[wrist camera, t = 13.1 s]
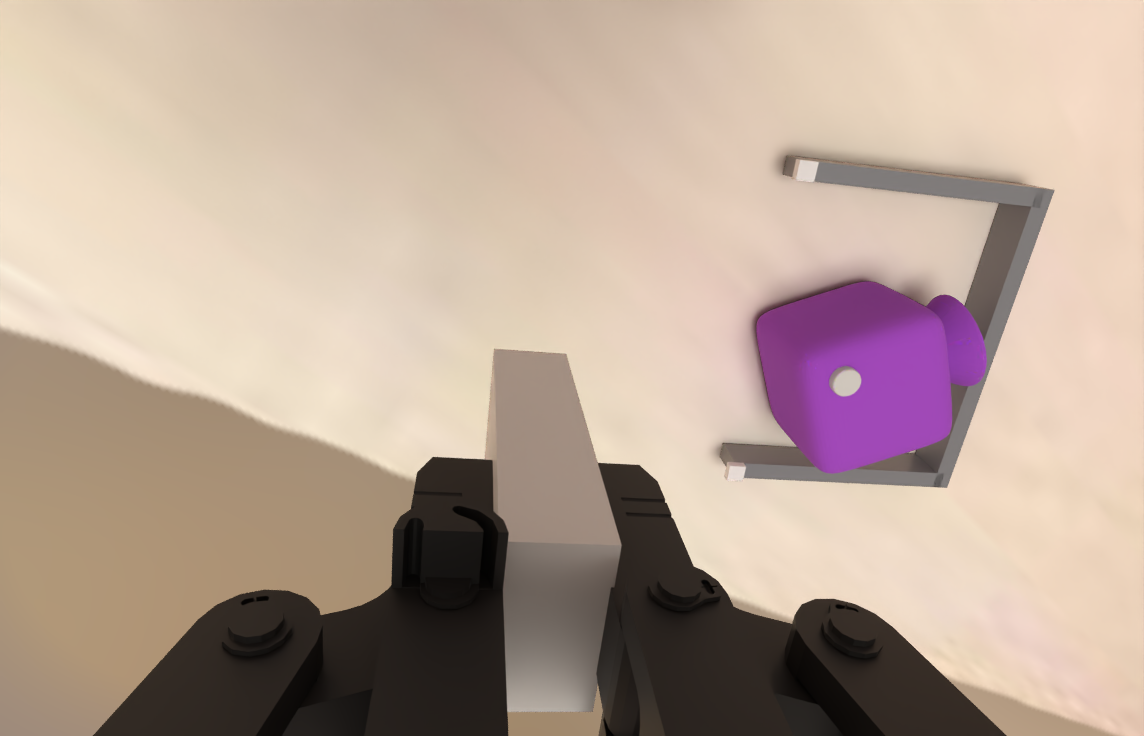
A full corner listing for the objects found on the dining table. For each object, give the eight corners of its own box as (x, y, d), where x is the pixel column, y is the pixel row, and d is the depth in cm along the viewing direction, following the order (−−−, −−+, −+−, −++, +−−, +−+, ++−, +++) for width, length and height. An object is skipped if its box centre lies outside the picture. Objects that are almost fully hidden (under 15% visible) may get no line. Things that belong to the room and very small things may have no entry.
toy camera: (944, 357, 53) (1040, 414, 44) (779, 439, 54) (840, 512, 45) (904, 231, 49) (1002, 265, 40) (727, 323, 50) (781, 377, 41)
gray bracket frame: (778, 154, 46) (800, 160, 43) (1022, 183, 48) (1060, 191, 45) (712, 456, 54) (726, 480, 51) (924, 467, 57) (950, 491, 53)
